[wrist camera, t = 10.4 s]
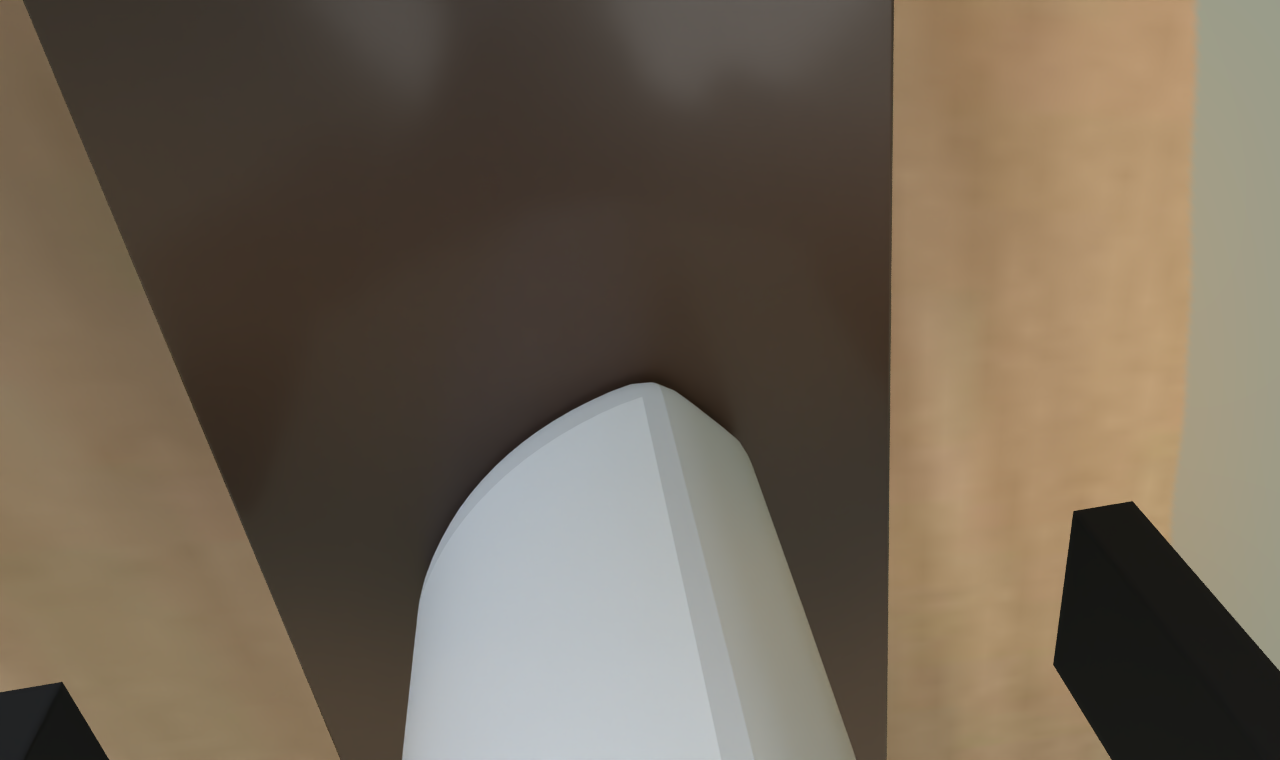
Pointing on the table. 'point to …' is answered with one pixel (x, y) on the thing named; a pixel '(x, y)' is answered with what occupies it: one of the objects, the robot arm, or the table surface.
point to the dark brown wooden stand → (503, 274)
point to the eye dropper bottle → (618, 604)
